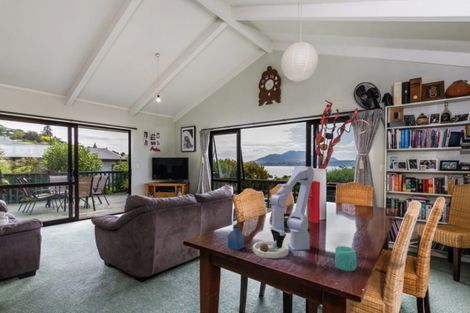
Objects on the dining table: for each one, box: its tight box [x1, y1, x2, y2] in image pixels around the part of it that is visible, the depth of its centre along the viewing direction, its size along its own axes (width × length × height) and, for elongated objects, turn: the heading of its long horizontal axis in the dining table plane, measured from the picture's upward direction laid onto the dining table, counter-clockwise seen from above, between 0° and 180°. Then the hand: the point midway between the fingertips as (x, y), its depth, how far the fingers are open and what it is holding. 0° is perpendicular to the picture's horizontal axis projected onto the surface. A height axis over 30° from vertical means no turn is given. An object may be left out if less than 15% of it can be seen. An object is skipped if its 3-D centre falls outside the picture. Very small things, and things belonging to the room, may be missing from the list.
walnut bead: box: [260, 243, 268, 252], centre depth 124 cm, size 4×4×4 cm
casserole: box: [284, 213, 300, 231], centre depth 172 cm, size 25×19×8 cm
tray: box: [252, 240, 290, 259], centre depth 127 cm, size 18×18×2 cm
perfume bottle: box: [227, 224, 245, 251], centre depth 133 cm, size 6×6×12 cm
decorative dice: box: [334, 245, 357, 272], centre depth 109 cm, size 8×8×8 cm
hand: (277, 245), depth 123 cm, fingers closed on teal bead, 4 cm apart
